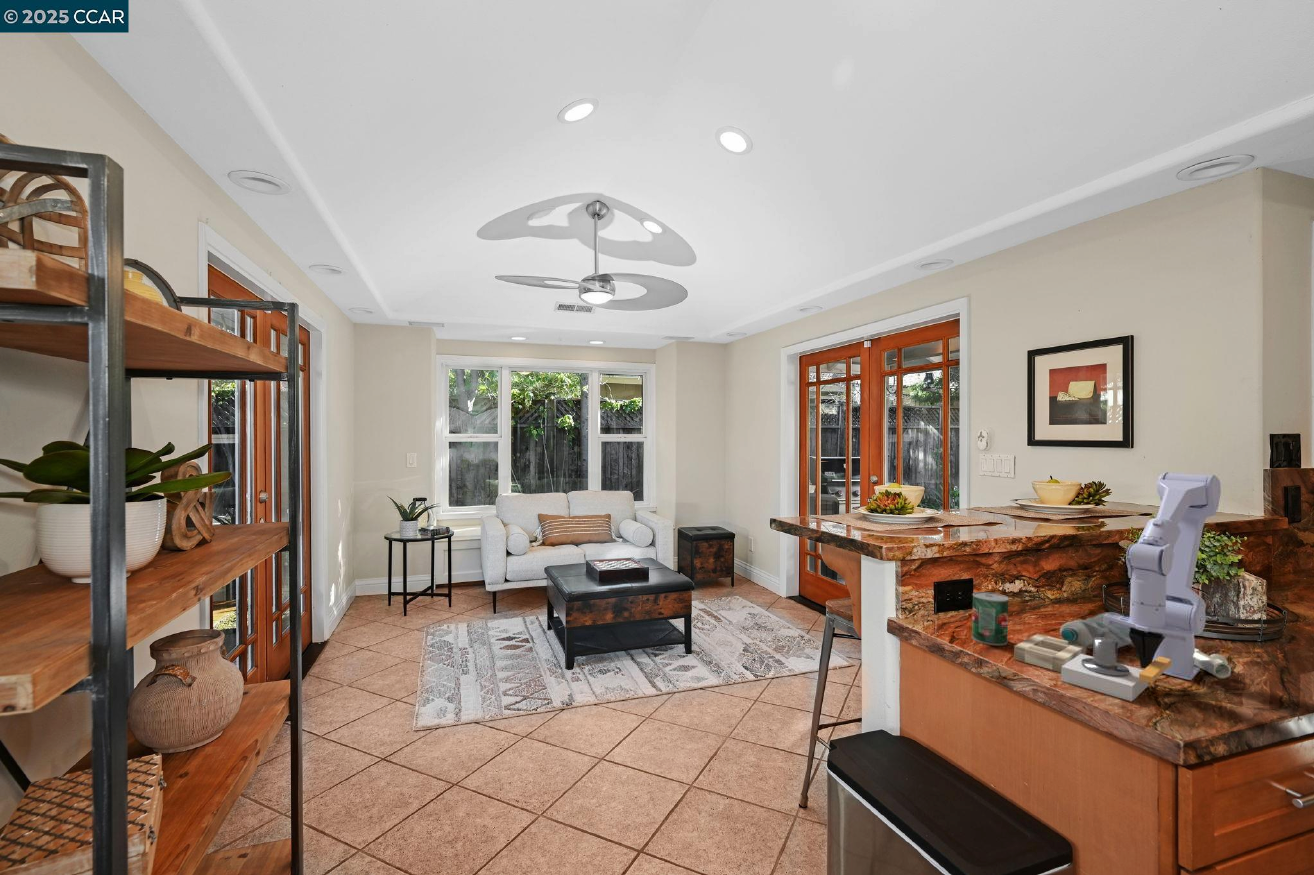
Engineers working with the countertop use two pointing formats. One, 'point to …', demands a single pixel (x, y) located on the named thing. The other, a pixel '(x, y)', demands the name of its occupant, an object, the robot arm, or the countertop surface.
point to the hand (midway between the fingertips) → (1145, 667)
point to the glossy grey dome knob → (1105, 658)
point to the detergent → (1094, 631)
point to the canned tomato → (990, 618)
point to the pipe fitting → (1212, 664)
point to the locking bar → (1154, 669)
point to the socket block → (1103, 679)
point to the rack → (1047, 651)
